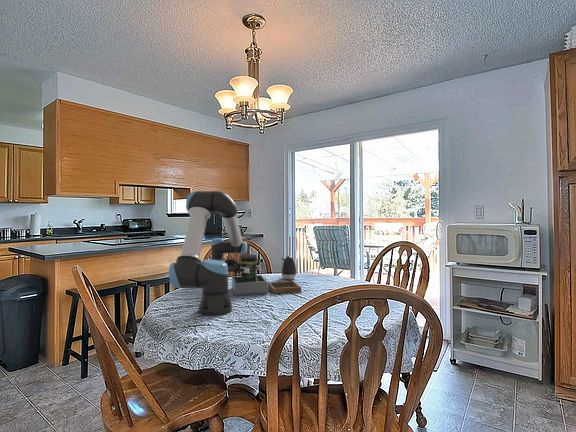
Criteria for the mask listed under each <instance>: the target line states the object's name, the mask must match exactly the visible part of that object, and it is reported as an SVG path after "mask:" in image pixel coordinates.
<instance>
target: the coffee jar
mask: <svg viewBox="0 0 576 432" xmlns="http://www.w3.org/2000/svg"><path fill="white" fill-rule="evenodd" d="M258 261H259V260H258V256H257V254H242V255H241V257H240V261H239V263H241V265H242V267H245V268H249V273H244V272H240V276H241V283H243V282H257V275H258V274H257V270H256V265H257V264H258Z"/></svg>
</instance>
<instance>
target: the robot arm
mask: <svg viewBox="0 0 576 432" xmlns="http://www.w3.org/2000/svg"><path fill="white" fill-rule="evenodd" d="M185 203H186V204H185V208H186V211H187V212H188V215H189V221H188V225H187V229H186V233H185V236H184V241H183V246H182V251H181V253H180V255H179V256H177V257H176V261H175V262H171V264H170V265H169V269H168V277H169V279H168V280H169V282H170V284H171V286H172V288H175V289H177V288H178V289H182V290H183V289H201V290H202V292H201V293H202V294H201V295H202V296H201V299H200V301H199V305H198V313H199V315H200V314H201V315H202V316H203V315H204V316H211V317H212V316H213V317H215V316H223V315H227V314H229V313H231V312H232V310H233V305H232V301H231V298H230V295H229V273H237V274H241V273H242V272H244V273H249V268H245V267H242V265H241V262H237V261H236V260H235V259H232V258H226V257H225V255H224V254H226V255H227V254H235V255H236V254H237V255H239V254H240V255H241V254H242V255H245V254H247V252H248V242H247V241H243V237H242V233H241V229H240V224H239V220H238V215H237V214H238V206H237V204H236V203H235V201H234V200H233V199H232V198H231V196H230V195H228V194H227V193H226V192H223V191H220V190H207V191H206V190H203V191H202V190H197V191H191V192H189V194H188V195H187V197H186V200H185ZM217 213H218V214H219V215H220V217H222V219H223V222H224V225H225V229H226V233H227V236H228V240H229V241H227V240H224V237H223V238H222V237H215V238H212V239H211V243H210V245H211V246H210V251H211V255H210V257H209V258H208V259H203V260H201V259H200V255H201V252H202V251H201V250H202V245H203V240H204V235H205V232H206V226H207V222H208V220H209V219H210V218H211V216H212V214H217ZM256 271H262V265H256Z"/></svg>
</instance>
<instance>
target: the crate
mask: <svg viewBox="0 0 576 432" xmlns="http://www.w3.org/2000/svg"><path fill="white" fill-rule="evenodd" d="M268 282H269V281H268V280H267V279H266V278H265V277H264V276H263V274H257V282H243V283H241V275H239V276H238V275H237V276H234V275H233V276H231V290H232V293H233V296H234V297H245V296H259V295H268V294H269V292H268V290H269V288H268Z"/></svg>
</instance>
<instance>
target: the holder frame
mask: <svg viewBox="0 0 576 432" xmlns="http://www.w3.org/2000/svg"><path fill="white" fill-rule="evenodd" d="M268 290H269V291H270V292H271V293H272V295H281V294H292V293H293V294H297V293H302V286H300V285H299V284H298V283H297V282H296V281H295V280H288V281H285V280H284V281H268Z"/></svg>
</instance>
